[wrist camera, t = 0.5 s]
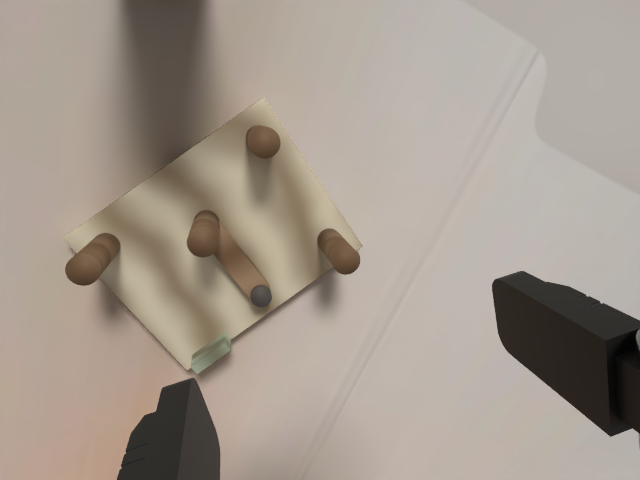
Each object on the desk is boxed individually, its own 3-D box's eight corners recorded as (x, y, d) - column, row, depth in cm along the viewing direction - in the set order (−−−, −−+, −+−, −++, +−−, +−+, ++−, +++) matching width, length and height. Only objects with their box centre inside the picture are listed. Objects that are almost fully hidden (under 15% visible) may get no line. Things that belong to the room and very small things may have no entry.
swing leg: (275, 290, 44) (283, 320, 38) (256, 304, 44) (261, 336, 38) (209, 205, 41) (205, 221, 34) (187, 220, 41) (180, 239, 34)
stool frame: (188, 360, 47) (180, 414, 38) (69, 233, 41) (28, 262, 33) (357, 241, 47) (385, 268, 39) (262, 98, 42) (271, 92, 33)
